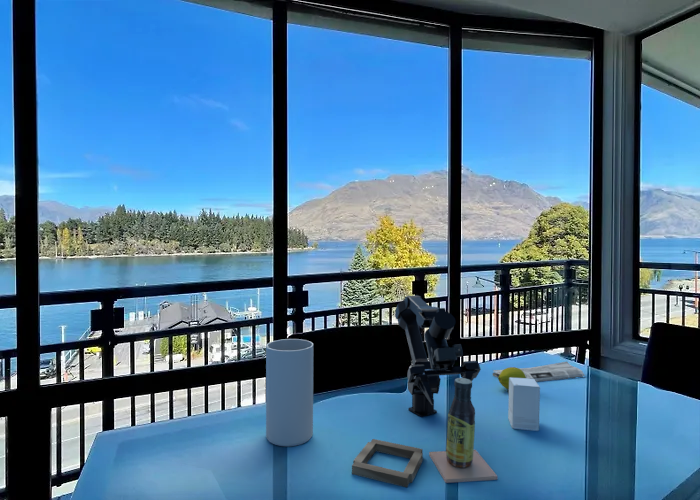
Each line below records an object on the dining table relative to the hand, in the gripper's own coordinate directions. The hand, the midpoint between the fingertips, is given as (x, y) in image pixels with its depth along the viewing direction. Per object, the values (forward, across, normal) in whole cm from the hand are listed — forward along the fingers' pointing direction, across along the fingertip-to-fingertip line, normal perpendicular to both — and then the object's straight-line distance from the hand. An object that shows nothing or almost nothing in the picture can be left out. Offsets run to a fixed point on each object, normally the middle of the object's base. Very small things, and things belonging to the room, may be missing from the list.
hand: (450, 403), depth 110 cm
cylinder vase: (+1, -42, +13) cm, 44 cm away
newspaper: (-26, +52, +51) cm, 77 cm away
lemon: (-17, +34, +39) cm, 55 cm away
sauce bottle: (+14, -1, +2) cm, 14 cm away
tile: (+14, 0, +2) cm, 15 cm away
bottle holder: (+13, -18, +2) cm, 22 cm away
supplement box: (+1, +25, +19) cm, 31 cm away
